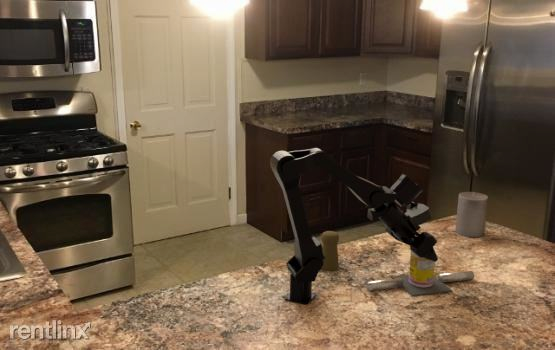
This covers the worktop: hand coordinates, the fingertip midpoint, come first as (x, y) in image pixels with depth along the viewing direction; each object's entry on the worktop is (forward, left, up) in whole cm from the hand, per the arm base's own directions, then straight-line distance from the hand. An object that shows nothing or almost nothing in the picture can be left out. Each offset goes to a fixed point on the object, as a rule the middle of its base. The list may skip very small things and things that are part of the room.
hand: (427, 253), depth 153 cm
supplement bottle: (-1, +1, -9) cm, 9 cm away
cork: (-1, +28, -9) cm, 29 cm away
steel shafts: (-1, +1, -9) cm, 9 cm away
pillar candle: (+50, -6, -9) cm, 51 cm away
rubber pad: (-1, +1, -9) cm, 9 cm away
